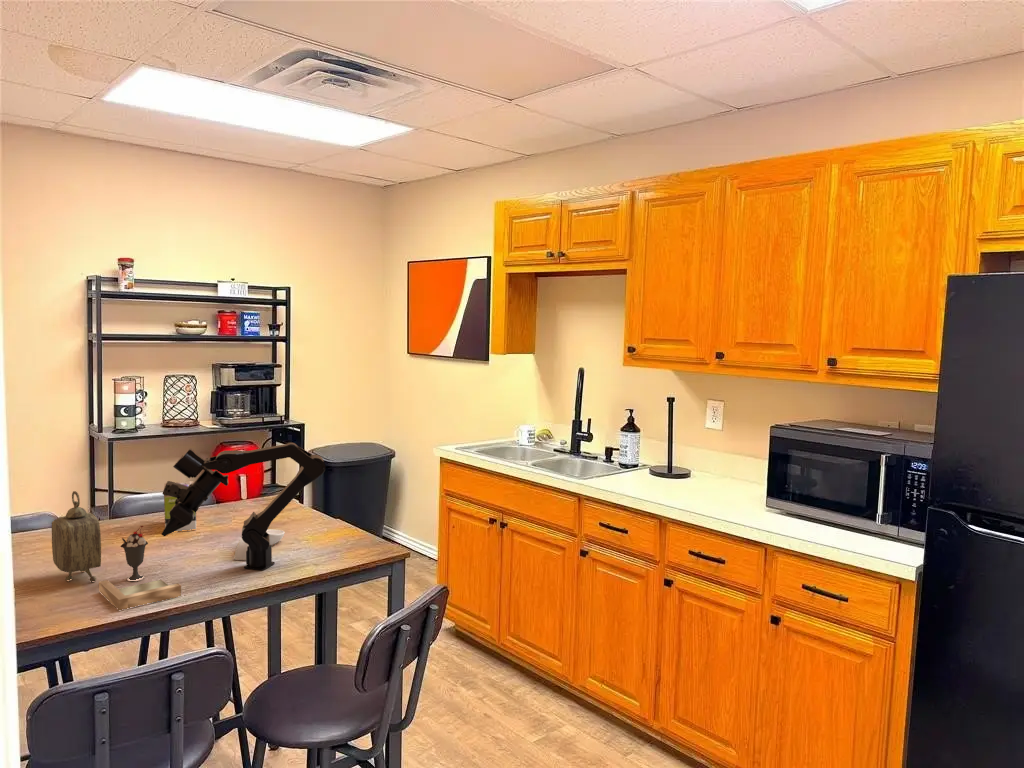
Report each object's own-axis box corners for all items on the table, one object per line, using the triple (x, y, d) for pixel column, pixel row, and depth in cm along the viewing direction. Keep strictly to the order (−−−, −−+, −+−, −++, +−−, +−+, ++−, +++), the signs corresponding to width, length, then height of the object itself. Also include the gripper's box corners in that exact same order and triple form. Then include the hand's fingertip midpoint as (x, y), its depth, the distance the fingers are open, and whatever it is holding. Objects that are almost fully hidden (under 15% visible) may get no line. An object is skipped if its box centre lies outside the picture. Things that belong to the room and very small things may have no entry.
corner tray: (158, 579, 204) (158, 569, 204) (181, 596, 192) (180, 585, 192) (99, 592, 193) (98, 581, 193) (119, 611, 181) (118, 599, 181)
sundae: (154, 576, 206) (153, 524, 205) (136, 584, 200) (134, 531, 199) (135, 573, 208) (133, 522, 207) (116, 581, 202) (115, 528, 200)
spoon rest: (256, 538, 245) (255, 517, 244) (290, 539, 244) (289, 518, 244) (223, 560, 221) (223, 537, 221) (261, 562, 221) (260, 539, 220)
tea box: (165, 522, 261) (164, 482, 259) (195, 520, 265) (194, 480, 264) (164, 534, 247) (163, 491, 246) (196, 531, 251) (195, 489, 250)
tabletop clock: (102, 582, 201) (99, 494, 198) (64, 590, 194) (61, 499, 192) (88, 569, 211) (85, 485, 209) (52, 576, 205) (49, 489, 203)
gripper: (182, 464, 216) (146, 506, 213) (175, 477, 198) (134, 523, 196) (213, 487, 219) (178, 528, 217) (209, 502, 201) (169, 546, 199)
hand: (165, 530), depth 207 cm, fingers open, 9 cm apart
